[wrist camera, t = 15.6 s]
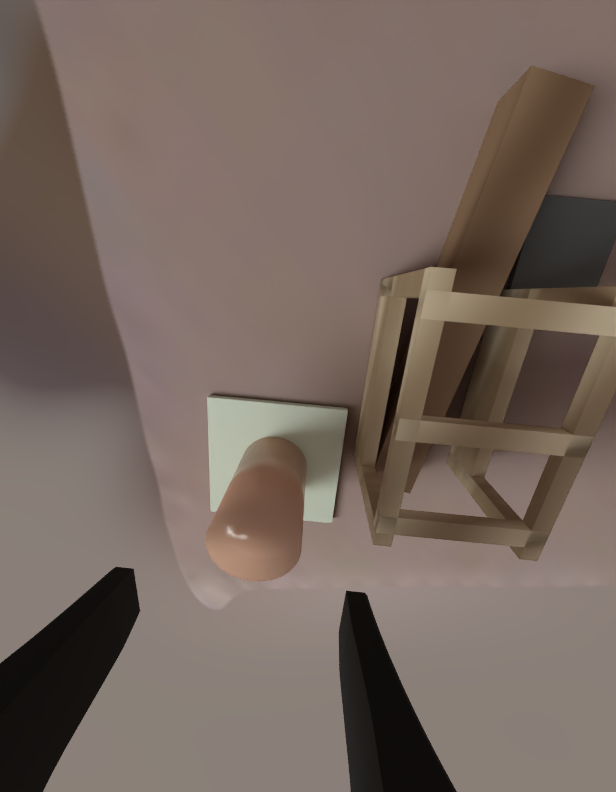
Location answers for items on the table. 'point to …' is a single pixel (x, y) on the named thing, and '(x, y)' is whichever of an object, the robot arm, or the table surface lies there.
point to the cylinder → (261, 513)
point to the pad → (295, 422)
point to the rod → (494, 224)
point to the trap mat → (566, 244)
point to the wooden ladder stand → (479, 405)
